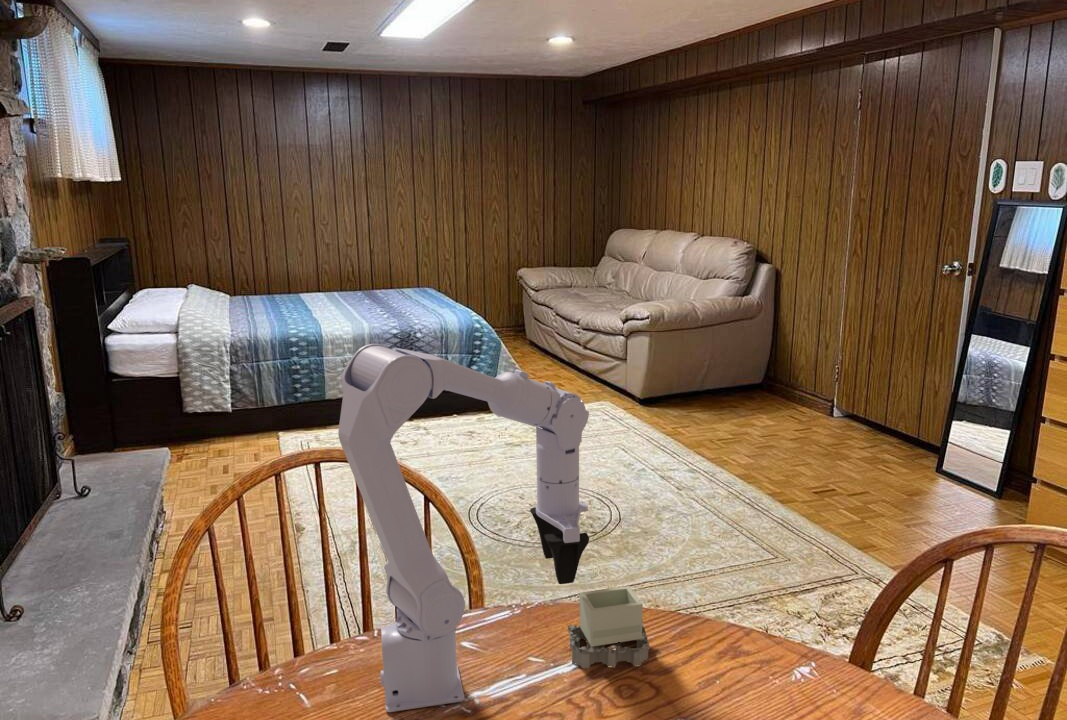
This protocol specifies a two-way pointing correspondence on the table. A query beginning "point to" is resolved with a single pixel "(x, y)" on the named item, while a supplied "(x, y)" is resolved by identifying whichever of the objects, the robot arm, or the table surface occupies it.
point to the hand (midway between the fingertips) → (558, 569)
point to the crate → (610, 616)
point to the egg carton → (605, 650)
